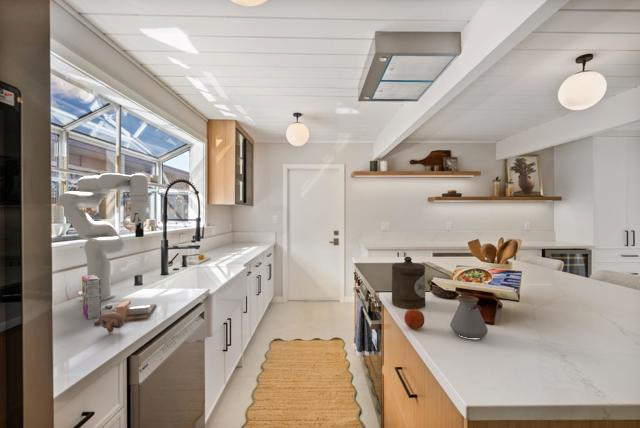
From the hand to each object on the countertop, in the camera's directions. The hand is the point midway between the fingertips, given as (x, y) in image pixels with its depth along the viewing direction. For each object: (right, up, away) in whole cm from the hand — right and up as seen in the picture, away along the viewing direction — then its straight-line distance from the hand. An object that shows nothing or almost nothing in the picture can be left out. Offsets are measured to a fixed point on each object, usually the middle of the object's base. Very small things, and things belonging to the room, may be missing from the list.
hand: (139, 236), depth 143 cm
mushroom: (+13, -32, -38) cm, 51 cm away
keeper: (+8, -31, -23) cm, 39 cm away
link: (+8, -31, -22) cm, 39 cm away
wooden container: (+130, -31, -9) cm, 134 cm away
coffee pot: (+138, -31, -48) cm, 150 cm away
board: (+7, -32, -19) cm, 38 cm away
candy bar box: (-9, -33, -18) cm, 38 cm away
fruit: (+123, -31, -37) cm, 133 cm away
